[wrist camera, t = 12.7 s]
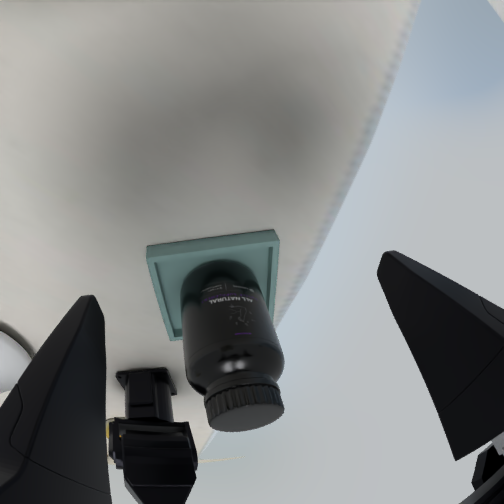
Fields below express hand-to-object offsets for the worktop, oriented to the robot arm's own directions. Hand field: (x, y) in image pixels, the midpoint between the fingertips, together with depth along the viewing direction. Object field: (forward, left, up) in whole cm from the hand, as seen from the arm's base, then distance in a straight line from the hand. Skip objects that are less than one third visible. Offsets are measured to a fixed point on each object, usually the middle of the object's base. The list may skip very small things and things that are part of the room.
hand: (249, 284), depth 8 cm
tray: (-12, 0, -13) cm, 18 cm away
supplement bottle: (-12, 0, -13) cm, 18 cm away
